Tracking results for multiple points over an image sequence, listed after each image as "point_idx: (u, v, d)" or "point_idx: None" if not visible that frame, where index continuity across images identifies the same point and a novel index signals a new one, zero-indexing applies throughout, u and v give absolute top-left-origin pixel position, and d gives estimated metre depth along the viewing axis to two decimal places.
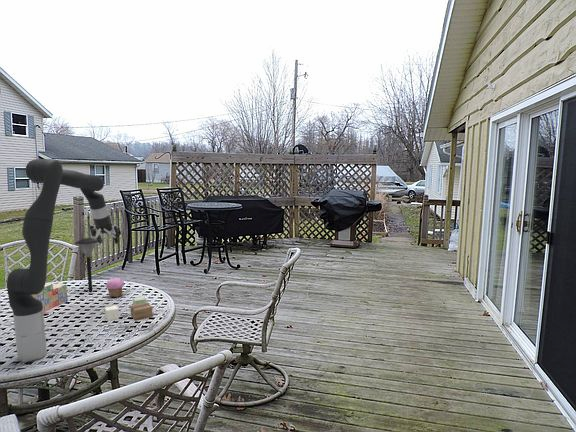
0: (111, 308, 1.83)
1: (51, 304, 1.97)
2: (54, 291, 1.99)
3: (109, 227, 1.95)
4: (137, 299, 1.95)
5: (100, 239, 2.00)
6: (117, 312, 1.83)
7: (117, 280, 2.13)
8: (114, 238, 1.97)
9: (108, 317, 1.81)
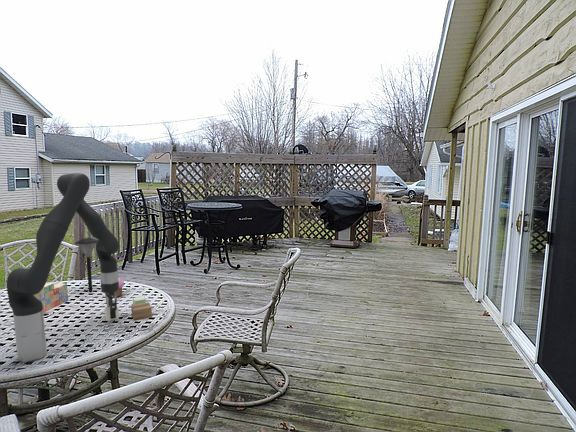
0: None
1: (52, 303, 1.98)
2: (55, 290, 2.00)
3: (109, 297, 1.80)
4: (137, 300, 1.95)
5: None
6: (117, 311, 1.83)
7: None
8: (110, 311, 1.81)
9: (108, 317, 1.81)
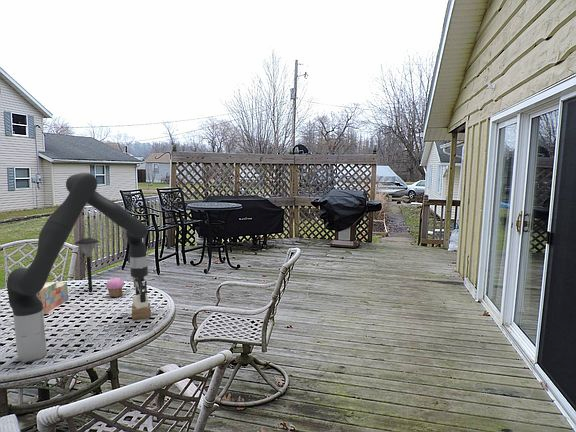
0: None
1: (55, 303, 1.99)
2: (57, 290, 2.01)
3: (139, 281, 1.81)
4: None
5: (138, 293, 1.89)
6: (146, 299, 1.85)
7: (117, 280, 2.13)
8: (140, 295, 1.82)
9: (138, 305, 1.83)
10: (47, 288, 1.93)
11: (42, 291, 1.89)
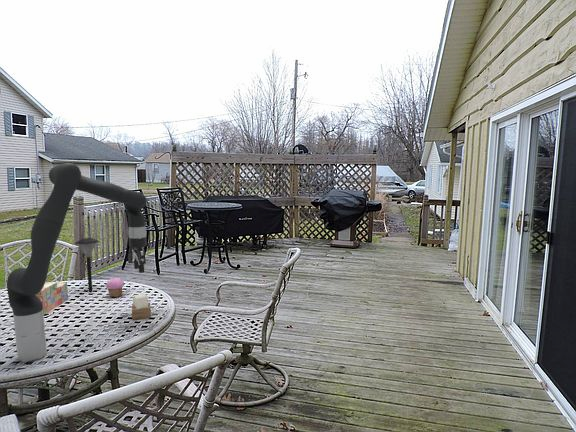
0: (140, 296, 1.85)
1: (56, 302, 1.99)
2: (58, 289, 2.01)
3: (137, 251, 1.80)
4: None
5: (136, 264, 1.87)
6: (146, 300, 1.85)
7: (117, 280, 2.13)
8: (138, 265, 1.80)
9: (138, 305, 1.83)
10: (48, 288, 1.93)
11: (44, 291, 1.89)
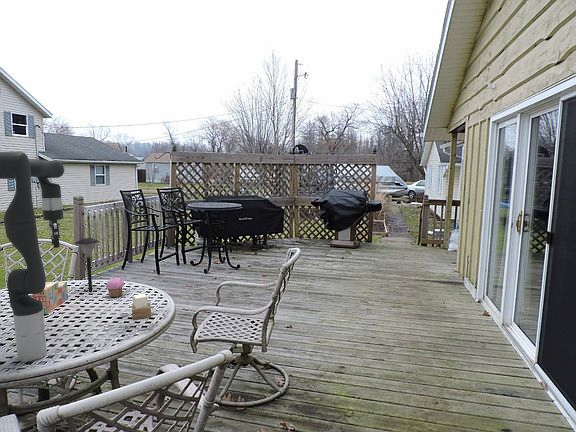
0: (140, 296, 1.85)
1: (57, 302, 2.00)
2: (59, 289, 2.02)
3: (51, 224, 1.66)
4: None
5: None
6: (146, 299, 1.85)
7: (117, 280, 2.13)
8: (53, 239, 1.66)
9: (137, 305, 1.83)
10: (51, 287, 1.94)
11: (47, 290, 1.90)
